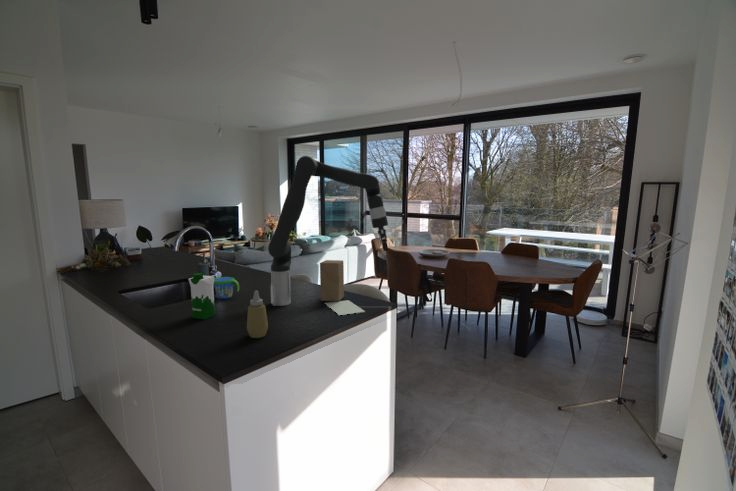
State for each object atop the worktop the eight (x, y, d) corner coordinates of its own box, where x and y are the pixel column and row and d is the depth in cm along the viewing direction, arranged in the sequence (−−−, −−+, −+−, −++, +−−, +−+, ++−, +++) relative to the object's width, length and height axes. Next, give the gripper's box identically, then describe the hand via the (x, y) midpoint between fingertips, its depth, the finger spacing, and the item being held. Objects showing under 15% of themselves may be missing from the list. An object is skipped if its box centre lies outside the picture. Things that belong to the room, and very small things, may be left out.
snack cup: (243, 295, 201) (242, 277, 199) (233, 300, 190) (233, 281, 189) (215, 294, 202) (214, 276, 201) (205, 299, 192) (204, 280, 190)
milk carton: (188, 318, 163) (185, 274, 160) (203, 312, 171) (201, 270, 168) (204, 320, 160) (201, 275, 157) (219, 314, 168) (216, 271, 166)
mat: (339, 315, 167) (339, 315, 167) (324, 304, 185) (324, 303, 185) (365, 312, 172) (365, 311, 172) (348, 300, 191) (348, 300, 191)
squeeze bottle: (249, 332, 147) (247, 288, 144) (270, 331, 147) (268, 288, 145) (244, 340, 139) (242, 293, 136) (266, 339, 139) (264, 293, 137)
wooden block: (339, 301, 187) (338, 263, 185) (320, 301, 189) (319, 262, 187) (344, 297, 197) (343, 260, 195) (326, 296, 199) (325, 259, 197)
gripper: (370, 218, 183) (377, 250, 185) (371, 218, 169) (378, 253, 170) (385, 215, 183) (392, 246, 185) (387, 215, 169) (394, 249, 170)
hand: (385, 249), depth 177 cm, fingers open, 8 cm apart
